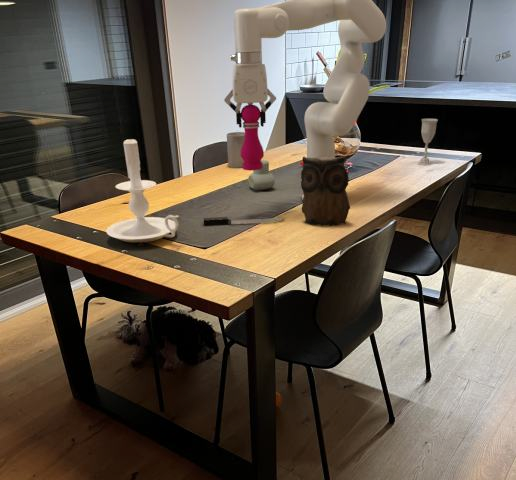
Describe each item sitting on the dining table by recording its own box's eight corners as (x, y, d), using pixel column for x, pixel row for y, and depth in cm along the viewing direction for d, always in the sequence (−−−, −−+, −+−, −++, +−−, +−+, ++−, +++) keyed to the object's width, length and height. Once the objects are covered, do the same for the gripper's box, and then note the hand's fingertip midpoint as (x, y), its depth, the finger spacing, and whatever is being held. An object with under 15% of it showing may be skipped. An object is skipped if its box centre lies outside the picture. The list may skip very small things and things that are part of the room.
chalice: (434, 165, 232) (440, 120, 223) (418, 165, 233) (423, 121, 224) (430, 161, 239) (435, 118, 230) (414, 162, 239) (419, 118, 230)
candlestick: (157, 257, 146) (143, 149, 131) (93, 242, 157) (74, 142, 143) (203, 235, 161) (194, 136, 146) (141, 223, 172) (128, 130, 158)
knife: (282, 218, 173) (282, 212, 172) (283, 222, 169) (283, 216, 168) (204, 222, 171) (203, 217, 170) (203, 226, 168) (203, 220, 167)
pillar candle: (236, 162, 249) (235, 128, 241) (253, 164, 244) (252, 129, 236) (223, 166, 242) (221, 131, 235) (240, 169, 237) (239, 133, 230)
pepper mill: (261, 171, 165) (259, 100, 155) (238, 170, 166) (235, 100, 156) (266, 166, 171) (264, 97, 161) (244, 165, 173) (241, 97, 162)
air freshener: (247, 186, 210) (246, 160, 205) (267, 184, 212) (266, 158, 207) (255, 193, 201) (254, 165, 196) (276, 190, 203) (276, 163, 198)
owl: (350, 224, 165) (354, 156, 155) (315, 230, 161) (316, 161, 151) (329, 213, 175) (332, 149, 165) (295, 219, 171) (296, 154, 161)
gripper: (218, 61, 150) (222, 129, 159) (280, 58, 151) (280, 127, 160) (218, 59, 156) (222, 125, 165) (277, 57, 157) (278, 123, 166)
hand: (251, 125), depth 163 cm, fingers closed on pepper mill, 6 cm apart
